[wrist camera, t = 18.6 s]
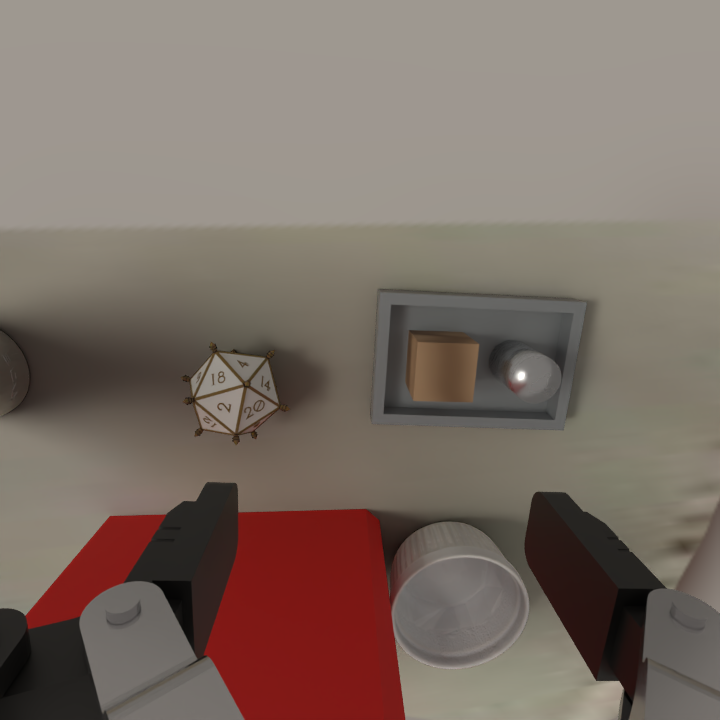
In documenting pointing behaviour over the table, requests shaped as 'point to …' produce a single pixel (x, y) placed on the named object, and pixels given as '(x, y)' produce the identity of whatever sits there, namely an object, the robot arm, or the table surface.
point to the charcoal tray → (488, 328)
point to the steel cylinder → (525, 371)
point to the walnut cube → (441, 366)
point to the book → (275, 611)
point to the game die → (233, 393)
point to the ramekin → (455, 597)
